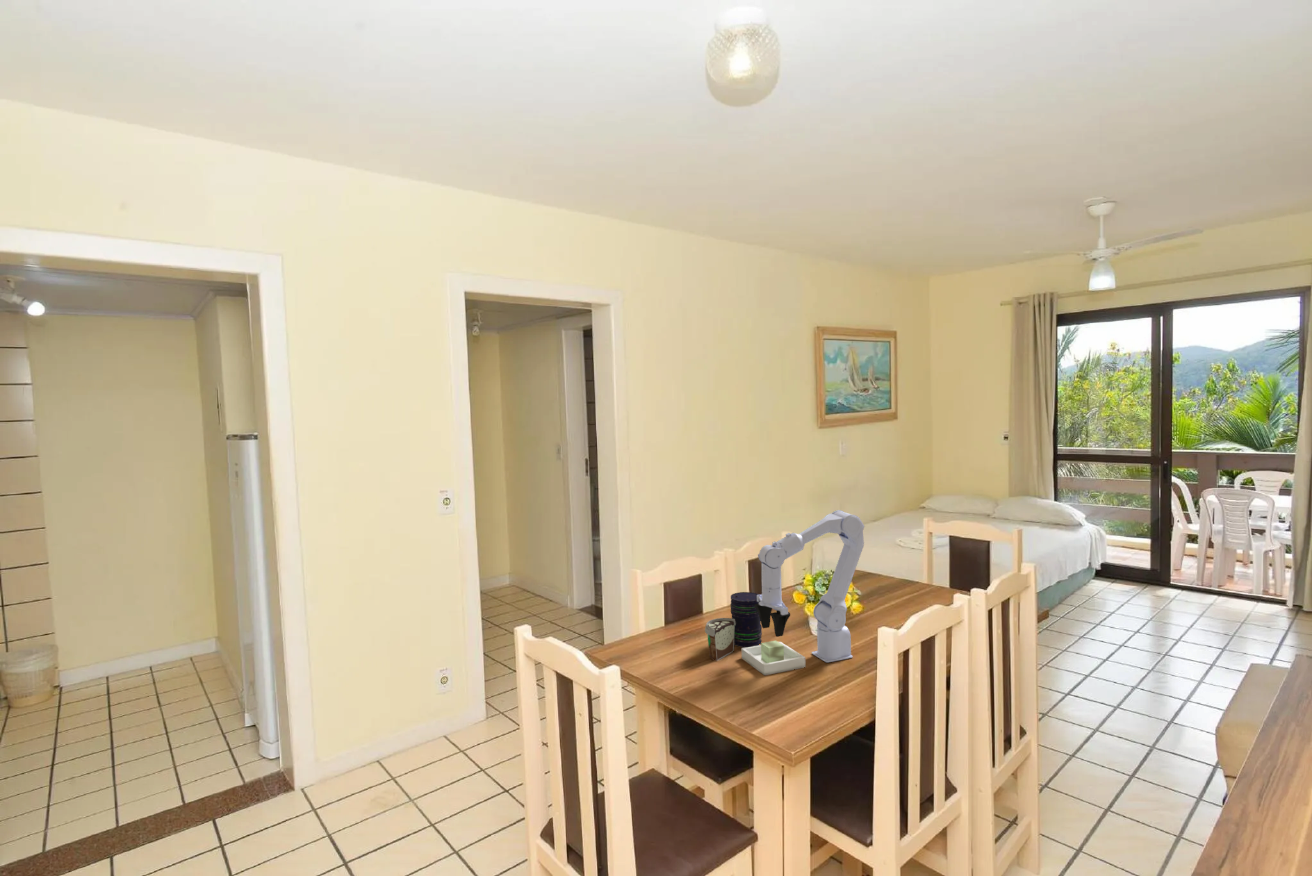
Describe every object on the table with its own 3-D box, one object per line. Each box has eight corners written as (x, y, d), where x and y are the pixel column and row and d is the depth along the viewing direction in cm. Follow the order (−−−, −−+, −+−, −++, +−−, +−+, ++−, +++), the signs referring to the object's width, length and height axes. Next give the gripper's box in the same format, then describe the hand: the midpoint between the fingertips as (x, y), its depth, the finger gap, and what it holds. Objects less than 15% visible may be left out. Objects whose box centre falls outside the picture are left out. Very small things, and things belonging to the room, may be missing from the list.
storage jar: (761, 636, 214) (760, 592, 213) (763, 647, 204) (762, 601, 204) (730, 636, 215) (729, 591, 214) (731, 647, 205) (730, 601, 205)
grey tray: (780, 651, 201) (780, 641, 201) (805, 667, 189) (805, 657, 189) (741, 658, 197) (741, 648, 196) (764, 675, 184) (764, 665, 184)
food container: (719, 645, 207) (719, 614, 207) (736, 649, 203) (735, 618, 203) (697, 658, 198) (696, 625, 197) (714, 662, 194) (713, 629, 193)
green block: (775, 656, 195) (775, 640, 195) (783, 662, 191) (783, 645, 191) (761, 659, 194) (761, 643, 193) (769, 665, 189) (769, 648, 189)
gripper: (747, 582, 197) (748, 626, 197) (772, 594, 183) (773, 642, 184) (767, 579, 199) (768, 622, 200) (794, 591, 186) (794, 638, 186)
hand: (772, 631), depth 192 cm, fingers open, 7 cm apart
